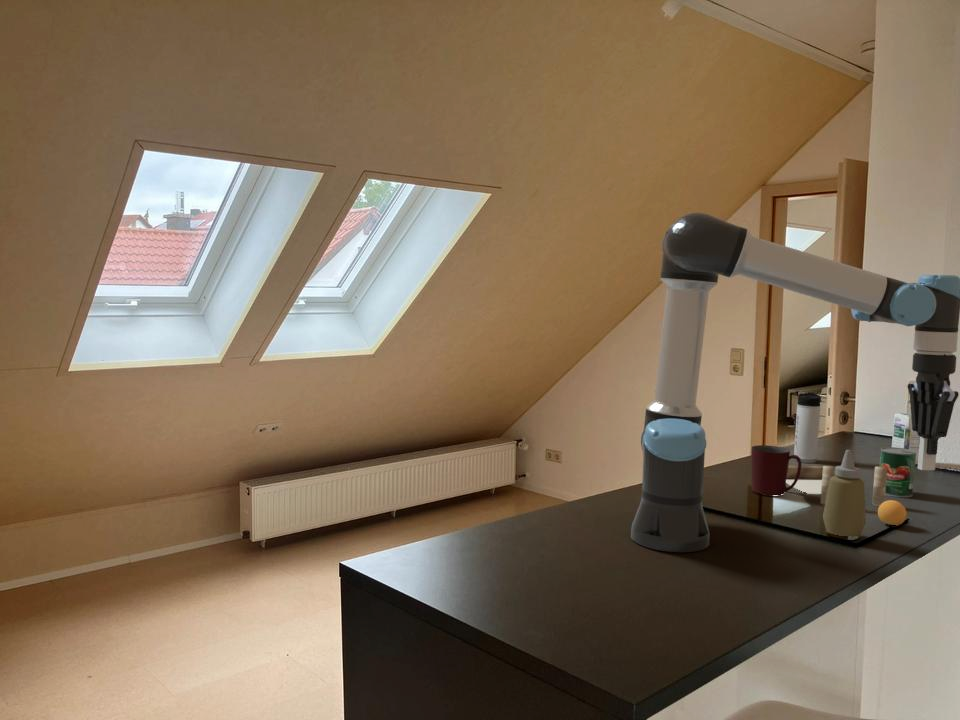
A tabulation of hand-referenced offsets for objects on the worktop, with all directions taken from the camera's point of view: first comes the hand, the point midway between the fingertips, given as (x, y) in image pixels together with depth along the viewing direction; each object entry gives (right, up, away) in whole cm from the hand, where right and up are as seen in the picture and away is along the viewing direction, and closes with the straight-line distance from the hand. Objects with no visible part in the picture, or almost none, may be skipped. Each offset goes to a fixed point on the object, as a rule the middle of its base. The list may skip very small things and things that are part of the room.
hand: (926, 469), depth 160 cm
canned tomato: (+14, -12, +39) cm, 43 cm away
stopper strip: (-4, -10, +53) cm, 54 cm away
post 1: (-8, -12, +27) cm, 31 cm away
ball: (-1, -11, +11) cm, 16 cm away
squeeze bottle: (-16, -14, +3) cm, 21 cm away
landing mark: (-3, -11, +43) cm, 45 cm away
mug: (-18, -11, +35) cm, 41 cm away
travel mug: (+6, -8, +75) cm, 75 cm away
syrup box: (+36, -9, +76) cm, 84 cm away
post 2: (+4, -12, +28) cm, 31 cm away
